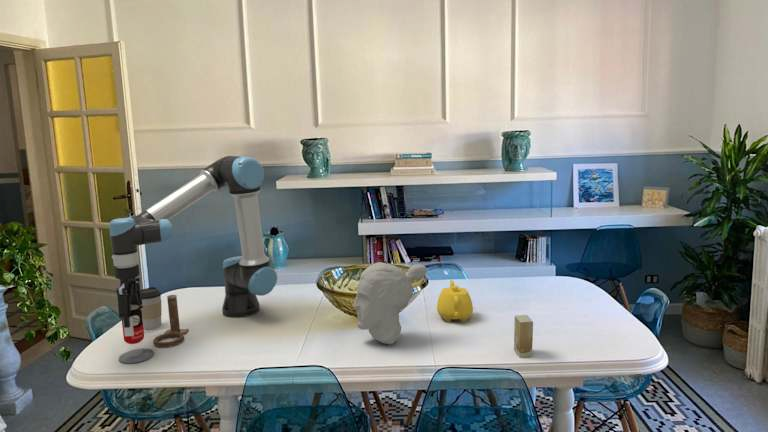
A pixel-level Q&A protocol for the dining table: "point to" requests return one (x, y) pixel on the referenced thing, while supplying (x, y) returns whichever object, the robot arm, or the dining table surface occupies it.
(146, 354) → the slate coaster
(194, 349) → the dining table surface
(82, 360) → the dining table surface
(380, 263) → the bust
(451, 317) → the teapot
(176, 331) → the ring holder
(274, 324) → the dining table surface
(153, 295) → the coffee cup
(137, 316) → the beverage can
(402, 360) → the dining table surface
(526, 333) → the skincare box
